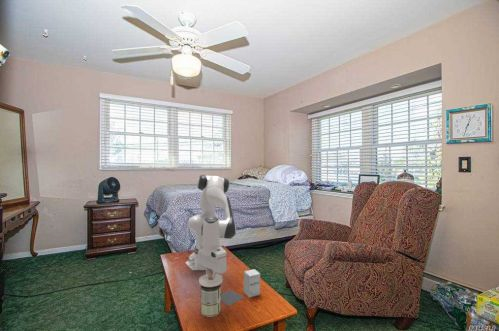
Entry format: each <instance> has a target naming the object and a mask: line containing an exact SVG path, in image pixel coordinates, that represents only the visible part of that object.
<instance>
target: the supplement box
mask: <svg viewBox="0 0 499 331" xmlns="http://www.w3.org/2000/svg"><path fill="white" fill-rule="evenodd" d="M243 293H244V294H245V295H246V296H247V297H248V298H253V297H256V296H260V294H261V272H259V271H258V270H256V269H255V268H254V269H250V270H244V271H243Z"/></svg>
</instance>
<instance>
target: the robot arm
mask: <svg viewBox="0 0 499 331" xmlns="http://www.w3.org/2000/svg"><path fill="white" fill-rule="evenodd" d="M196 185H197V188H198V190H200V191H201V196H200V200H199V206H200V209H202V213H200V214H196V215H193V216H192V217H189V219H188V221H187V226H188V228H189V230H190V231H191V232H193V234H194V237H195V247H193V249H194V251H193V252H192V253H191V254H190V255H189V256H188V260H187V261H185V265H186V266H187V267H188V268H190V270H192V271H205V272H206V273H205V274H206V275H208V270H209V269H212V270H213V274H211V277H212V278H215V277H216V274H219V275H221V274H225V273H226V272H227V270H228V269H227V265H228V264H227V262H228V261H227V257H226V256H227V254H228V253H227V251H226V250H225V248H223V247H222V246H221V242H220V239H228V240H231V239H233V238H234V237H235V236H236V232H237V226H236V222H235V219H234V215H233V209H232V205H231V200H230V198H229V197H228V196H226V193H227V192H228V191H229V189H230V180H229V179H228V178H225V177H221V176H218V175H207V174H201V175H199V177H198V178H197V181H196ZM215 207H217V208H221V209H222V210H223V211H224V214H225V219H224V220H223V219H221V220H220V219H219V216H218V214H217V213H216V208H215Z"/></svg>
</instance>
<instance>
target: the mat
mask: <svg viewBox="0 0 499 331" xmlns="http://www.w3.org/2000/svg"><path fill="white" fill-rule="evenodd" d="M244 298H245V296H244V295H242V294H239V293H238V292H236V291H234V290H232V289H229V290H227V291H224V292H221V302H222V303H223V304H224V305H226V306H228V307H230V306H232V305H234V304H235V303H237V302H240V301H241V300H242V299H244Z"/></svg>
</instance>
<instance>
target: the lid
mask: <svg viewBox="0 0 499 331" xmlns="http://www.w3.org/2000/svg"><path fill="white" fill-rule="evenodd" d="M211 274H213V270H212V269H209V270H208V275H206V273H205V274H203V275H201V276H199V279H198V284H199V285H200V286H201V285H202V286H204V287H214V286H218V285H220V284H221V285H222V283H223V281H224V278H223V276H222V275H221V274H220V273H216V277H215V278H212V277H211Z"/></svg>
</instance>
